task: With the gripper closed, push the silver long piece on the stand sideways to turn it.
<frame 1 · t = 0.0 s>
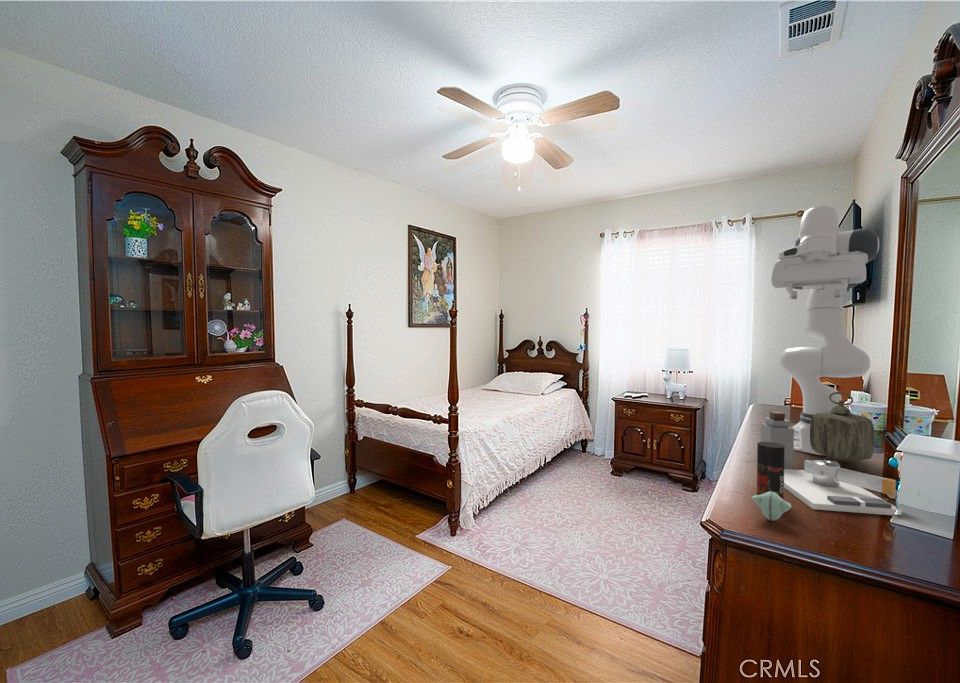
hand: (815, 297, 112), 54 cm above the table, tool tilted 30°, fingers open, 8 cm apart
silver long piece: (846, 476, 115), point 5 cm above the table, hinge at 40.0°
deodorant: (770, 501, 112), on the table
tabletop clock: (838, 468, 137), on the table
perfume bottle: (776, 466, 140), on the table
stand: (829, 491, 117), on the table
mint green pointed piece: (771, 521, 100), on the table
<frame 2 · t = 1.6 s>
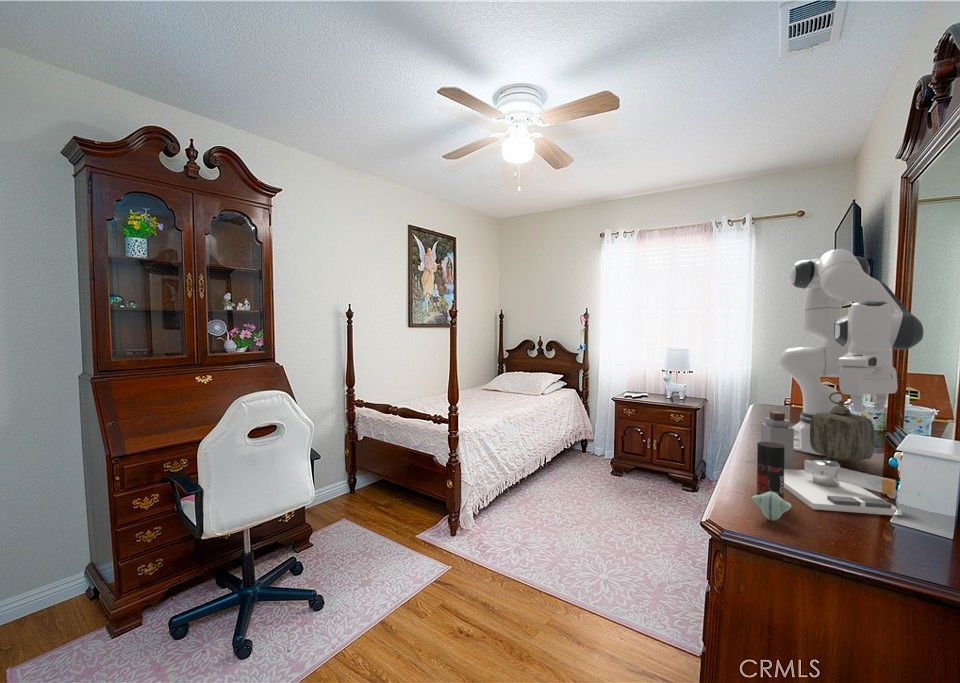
hand: (869, 410, 113), 23 cm above the table, tool pointing down, fingers open, 8 cm apart
nothing on the table moved.
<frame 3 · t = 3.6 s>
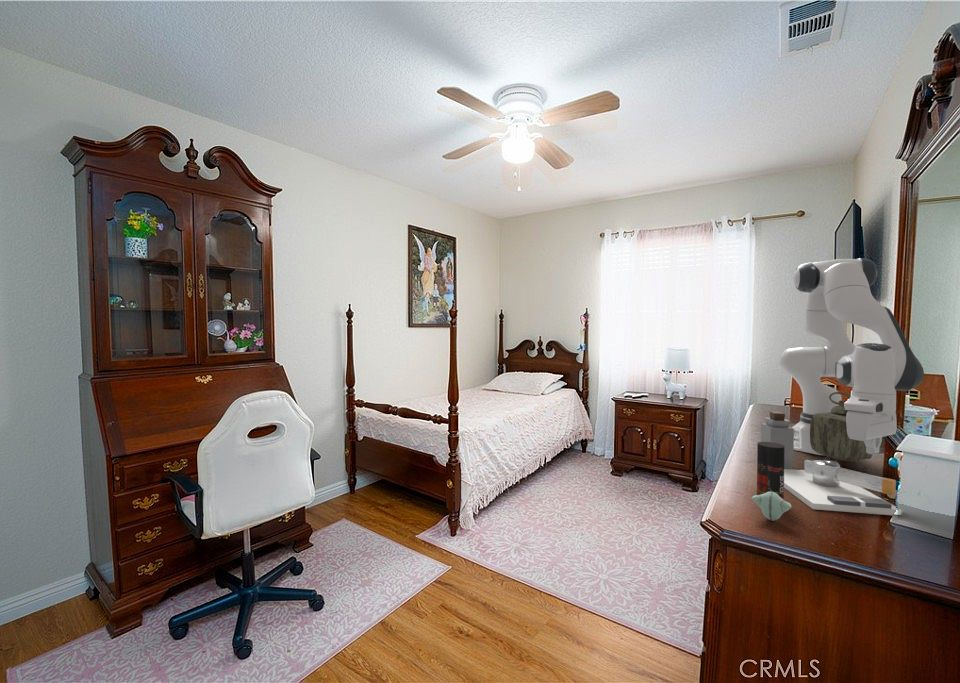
hand: (872, 453, 114), 12 cm above the table, tool pointing down, fingers closed
nothing on the table moved.
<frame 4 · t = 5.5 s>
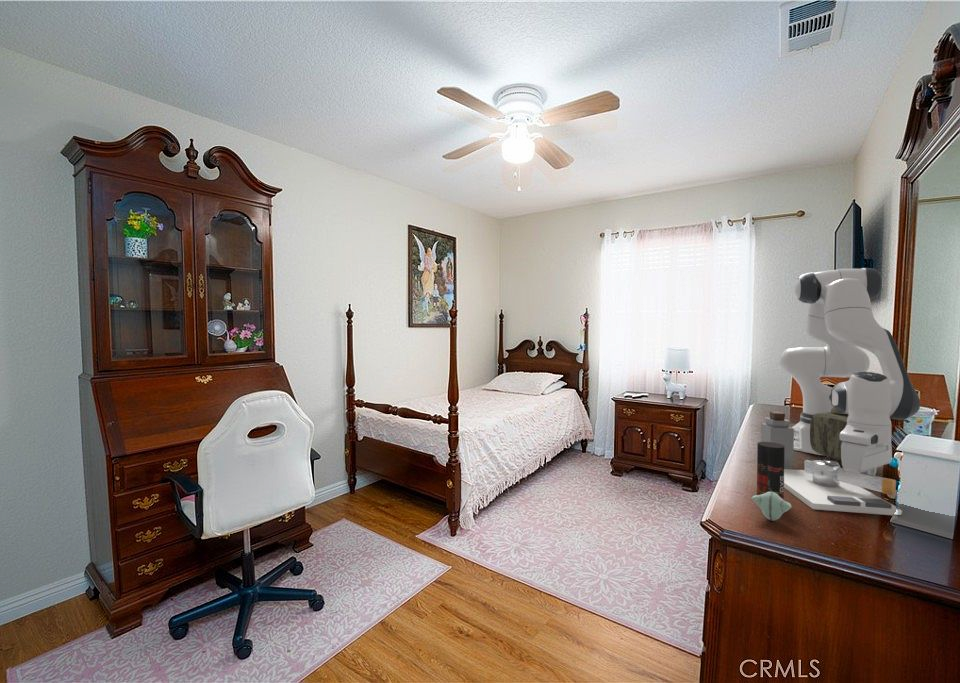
hand: (867, 483, 113), 4 cm above the table, tool pointing down, fingers closed
silver long piece: (846, 476, 115), point 5 cm above the table, hinge at 40.0°, touching gripper
everything else where it was.
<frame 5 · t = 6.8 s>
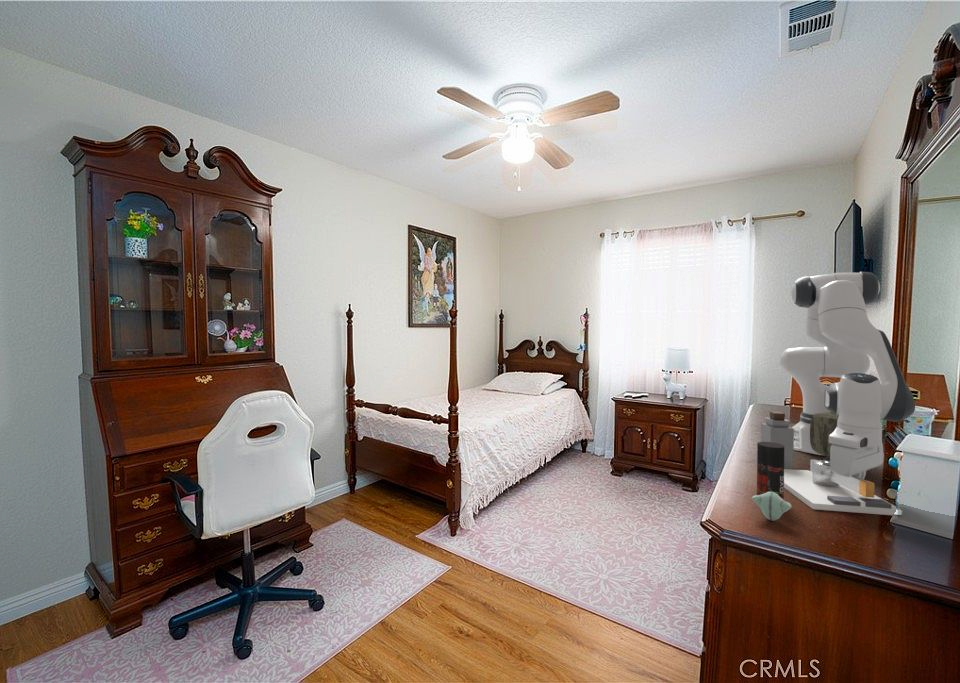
hand: (857, 486, 111), 4 cm above the table, tool pointing down, fingers closed
silver long piece: (839, 477, 114), point 5 cm above the table, hinge at 9.0°, touching gripper
everything else where it was.
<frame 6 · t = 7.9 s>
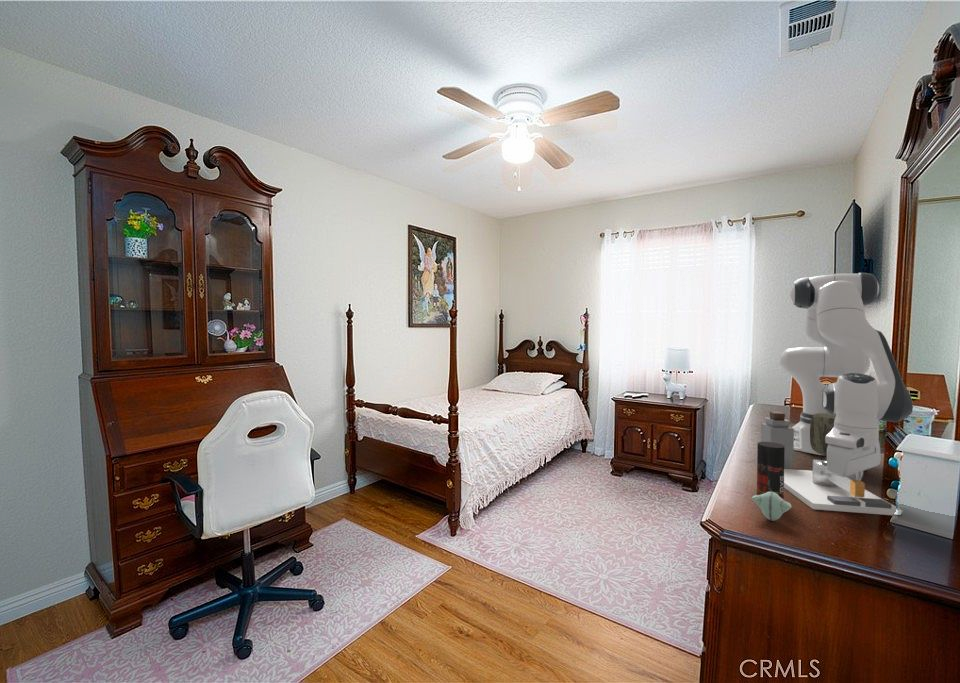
hand: (854, 486, 111), 4 cm above the table, tool pointing down, fingers closed
silver long piece: (836, 477, 114), point 5 cm above the table, hinge at -0.2°, touching gripper
everything else where it was.
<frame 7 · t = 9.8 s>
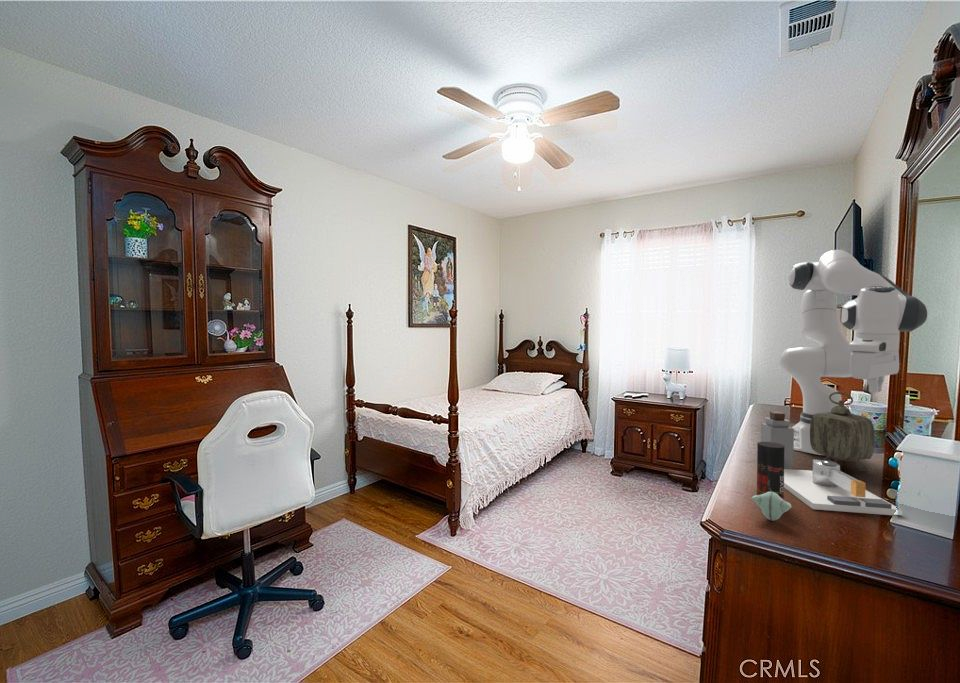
hand: (875, 391, 119), 28 cm above the table, tool pointing down, fingers closed
silver long piece: (836, 477, 114), point 5 cm above the table, hinge at 0.6°
everything else where it was.
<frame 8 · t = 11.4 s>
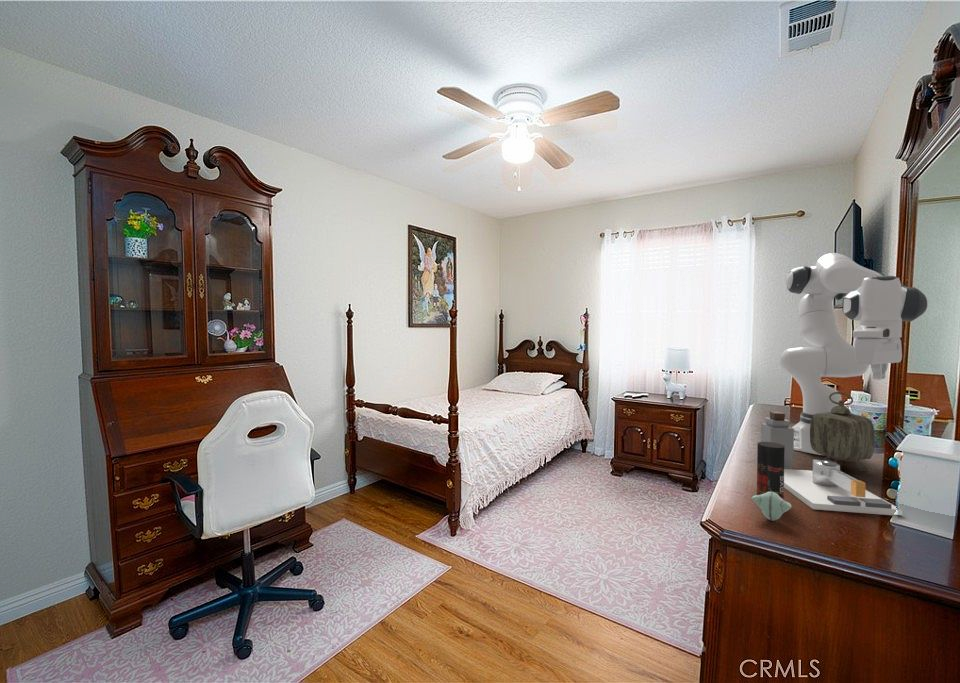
hand: (879, 379, 121), 31 cm above the table, tool pointing down, fingers closed
nothing on the table moved.
at the end: silver long piece at +1° (first picture: +40°); deodorant moved 0.2 cm from its start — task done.
